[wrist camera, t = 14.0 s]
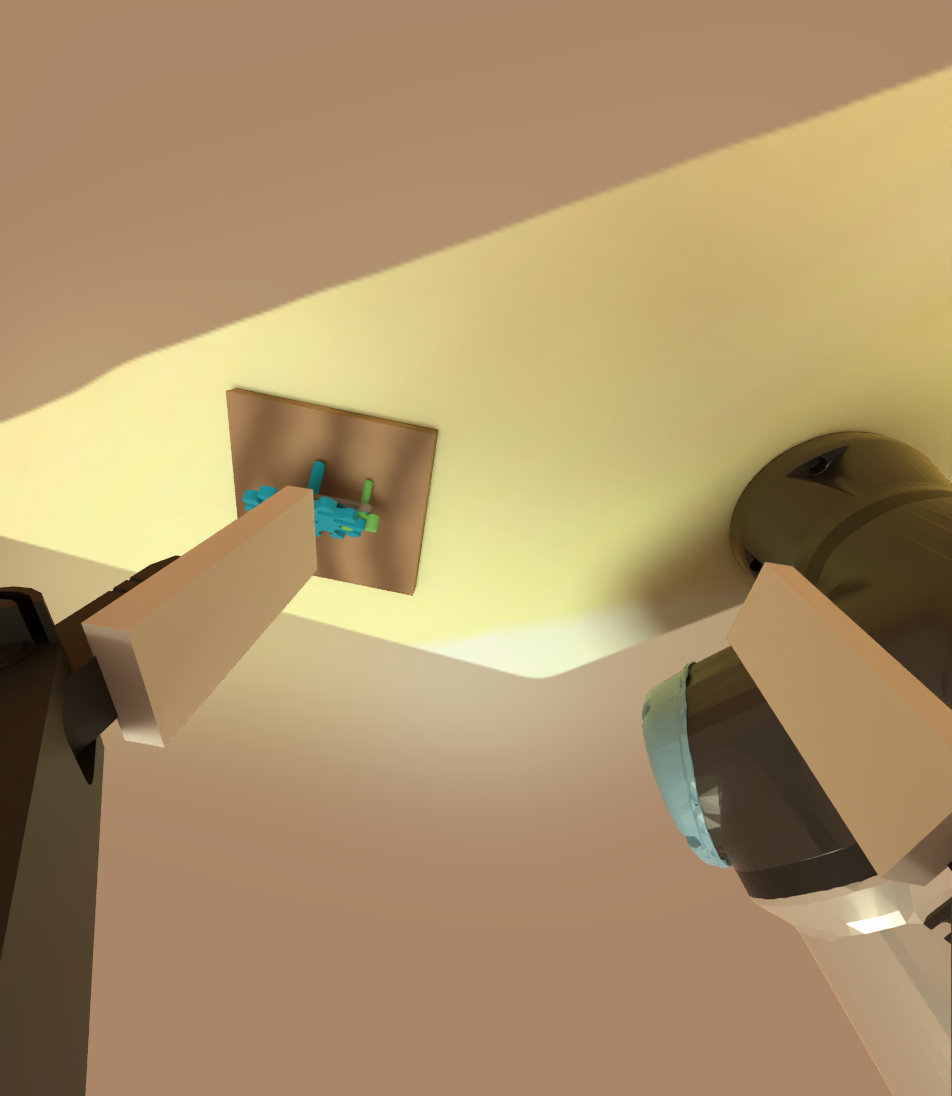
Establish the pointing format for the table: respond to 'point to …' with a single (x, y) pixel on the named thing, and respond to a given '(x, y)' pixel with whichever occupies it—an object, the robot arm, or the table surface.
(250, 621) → the robot arm
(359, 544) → the mount plate
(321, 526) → the gear
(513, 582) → the table surface
